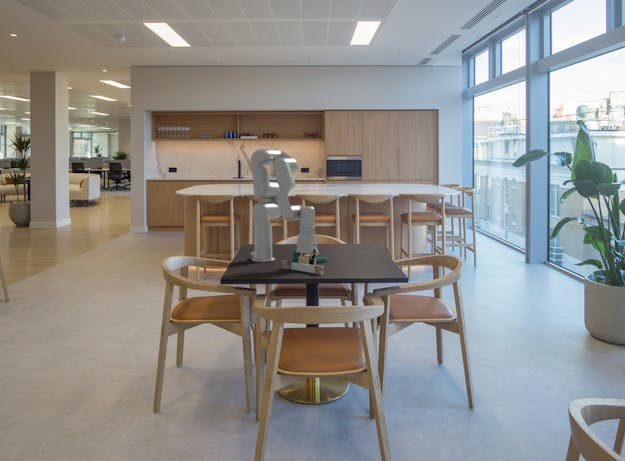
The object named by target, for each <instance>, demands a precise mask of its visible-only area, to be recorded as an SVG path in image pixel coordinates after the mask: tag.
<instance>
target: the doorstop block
mask: <svg viewBox="0 0 625 461" xmlns="http://www.w3.org/2000/svg"><path fill="white" fill-rule="evenodd" d="M309 259H310V256H309V254H308V255H303V256H298V262H297V263H302V264H308V265H309ZM314 265H317V263H316V258H315V259H314Z"/></svg>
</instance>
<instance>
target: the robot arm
mask: <svg viewBox="0 0 625 461" xmlns="http://www.w3.org/2000/svg"><path fill="white" fill-rule="evenodd" d="M249 162H250V168H251V175H252V187H253V194H254V197H255V199H257V200H267V201H260V202H257V203H256V204H255V205H253V207H252V212H251V213H252V217H253V226H254V227H253V228H254V230H253V231H254V250H252V252H250V256H253V257H251V261H252V262H256V263H257V262H258V263H268V262H269V263H270V262H271V263H272V262H274V261H275V260H276V257H274V256H273V227H272V226H273V225H272V223H271V220H273V219H278V218H280V217H282V219H284V220H285V221H290V222H291V221H297V220H299V228H298V231H299V233H298V234H297V235H298V236H297V240H296V248H295V250H296V252H297V253H298V255H299V256H303V255H305V253H306V254H309V256H310V259H309V265H314V259H315V258H316V257H318V255H320V252H319V249H318V240H317V234H316V222H315V221H316V210H315V207H314V206H311V205H308V206H307V205H301V204H293V205H291V203H290V201H289V194H290V191H291V190H293V189H294V188H295V187H296V181H295V178H294V176H293V174H295V173H297V171H298V167H299V165H298V162H297V160H296V158H294V157H293V156H291V155H290V154H288V153H286V152H285V151H283V150H281V149H277V148H260V149H256V150H255V151H254V152H253V153H252V154H251V156H250V161H249ZM266 166H272V169H273V172H274V175H275V178H276V181H277V182H276V181H270V180H269V179H270V178H269V172H268V170H267V168H266Z"/></svg>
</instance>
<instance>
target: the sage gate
mask: <svg viewBox="0 0 625 461" xmlns="http://www.w3.org/2000/svg"><path fill="white" fill-rule="evenodd" d="M290 270H295V271H299V272H305V273H312V274H315V265H308V264H302V263H298V262H294V261H293V262H292V261H291V269H290Z"/></svg>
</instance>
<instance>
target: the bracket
mask: <svg viewBox="0 0 625 461" xmlns="http://www.w3.org/2000/svg"><path fill="white" fill-rule="evenodd" d="M305 255H308V254H306V253H305ZM298 256H299V255H298V253H297V252H296V249H294V251H293V262H295V263H298ZM328 259H329V258H328V257H325V256H316V264H326V263H328V262H329V260H328Z"/></svg>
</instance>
